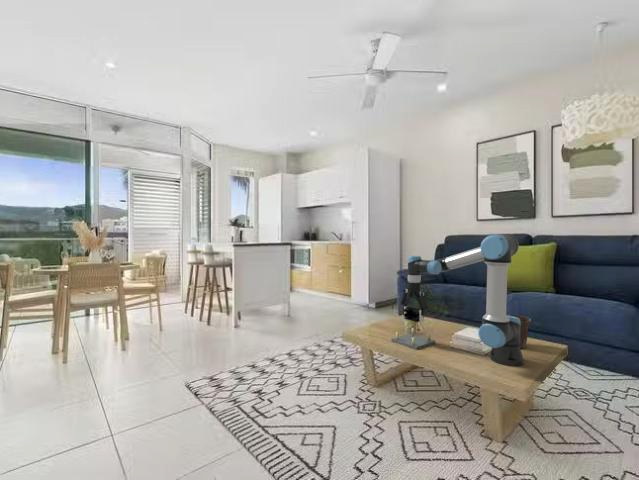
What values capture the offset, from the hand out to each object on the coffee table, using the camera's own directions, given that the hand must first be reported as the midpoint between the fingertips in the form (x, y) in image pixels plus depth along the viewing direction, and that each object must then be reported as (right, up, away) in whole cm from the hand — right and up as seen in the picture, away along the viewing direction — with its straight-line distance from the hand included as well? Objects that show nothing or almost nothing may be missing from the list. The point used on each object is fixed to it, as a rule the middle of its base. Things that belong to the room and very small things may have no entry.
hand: (413, 318), depth 198 cm
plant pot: (+57, -14, -5) cm, 59 cm away
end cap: (0, 0, 0) cm, 1 cm away
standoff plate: (0, -14, 0) cm, 14 cm away
